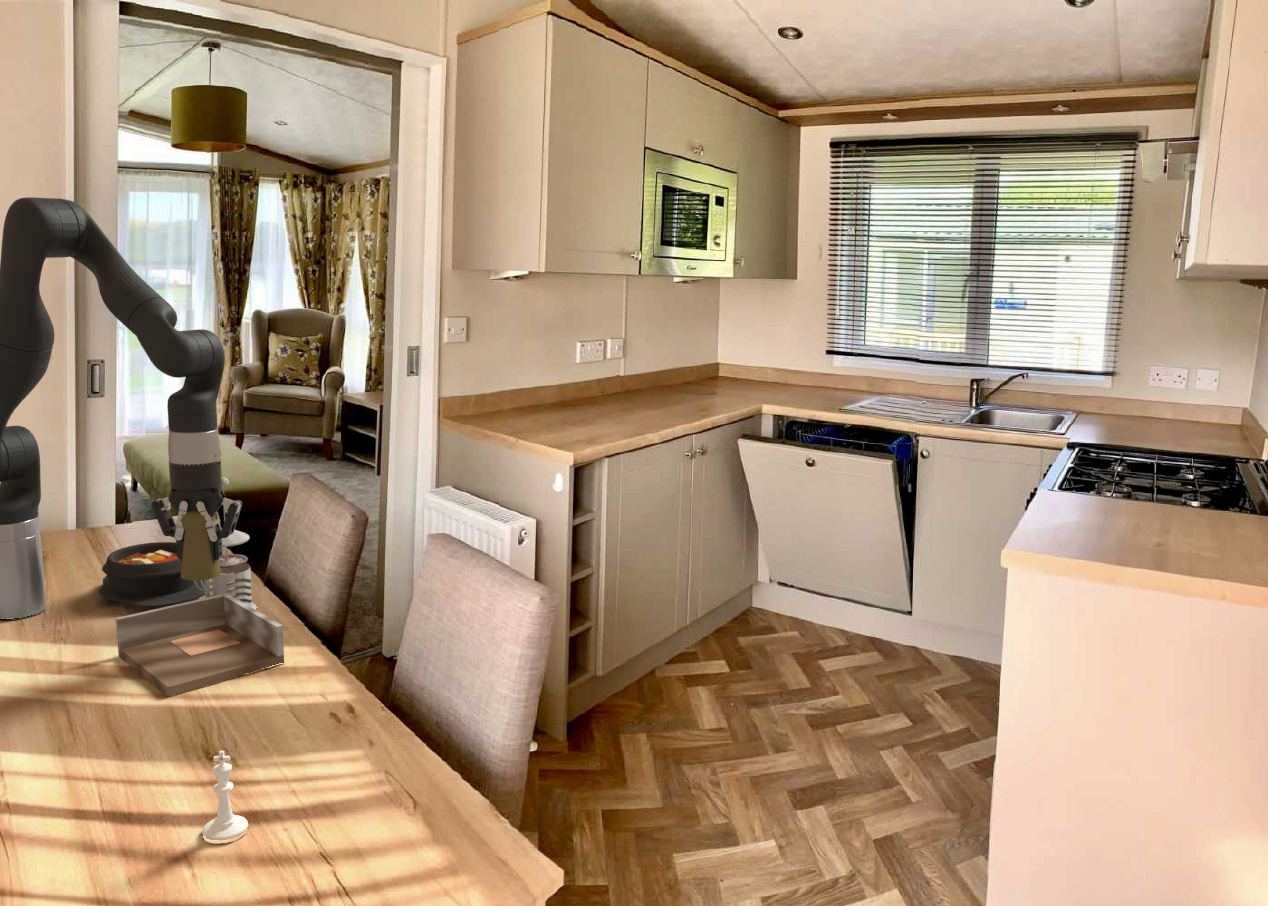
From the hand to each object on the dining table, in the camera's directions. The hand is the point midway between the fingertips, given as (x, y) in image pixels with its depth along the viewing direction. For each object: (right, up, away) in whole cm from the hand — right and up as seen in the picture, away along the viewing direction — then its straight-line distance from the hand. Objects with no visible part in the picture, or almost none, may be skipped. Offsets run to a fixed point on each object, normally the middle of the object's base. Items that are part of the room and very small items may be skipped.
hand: (200, 561), depth 158 cm
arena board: (0, -16, 0) cm, 16 cm away
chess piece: (+23, -26, -46) cm, 58 cm away
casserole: (-21, -10, +28) cm, 36 cm away
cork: (0, -2, 0) cm, 2 cm away
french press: (-4, -12, +20) cm, 24 cm away
